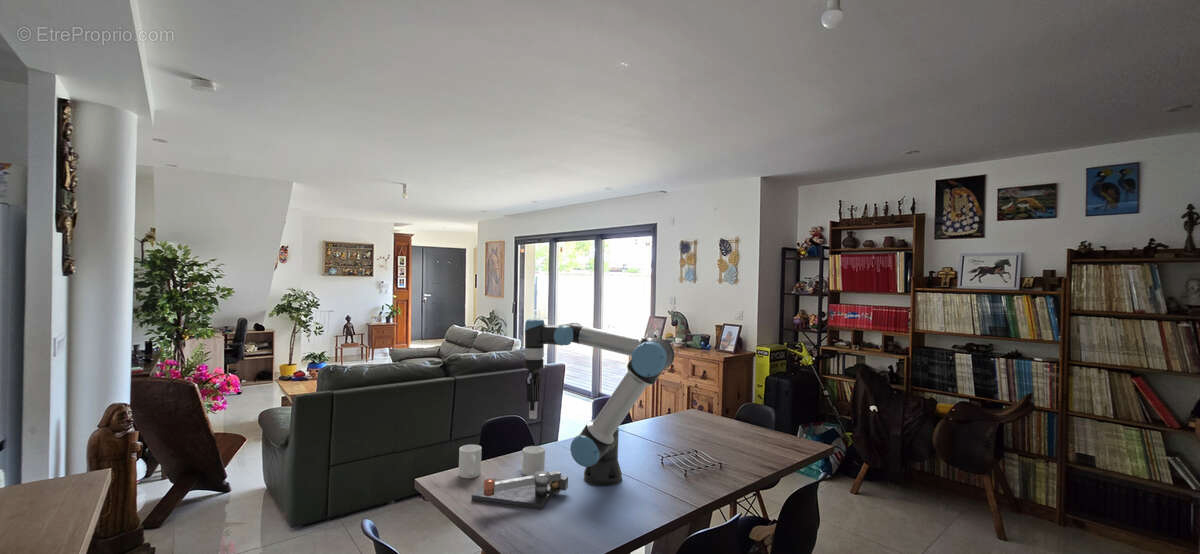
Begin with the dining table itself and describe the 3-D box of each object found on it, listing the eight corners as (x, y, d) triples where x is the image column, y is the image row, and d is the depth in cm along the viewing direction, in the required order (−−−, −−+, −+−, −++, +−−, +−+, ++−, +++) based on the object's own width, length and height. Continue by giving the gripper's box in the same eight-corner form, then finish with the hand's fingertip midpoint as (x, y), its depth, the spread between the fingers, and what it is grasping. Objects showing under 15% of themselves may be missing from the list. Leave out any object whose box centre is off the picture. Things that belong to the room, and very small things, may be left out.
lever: (555, 478, 182) (556, 466, 182) (562, 483, 176) (562, 471, 176) (481, 491, 168) (481, 478, 168) (486, 498, 163) (486, 484, 163)
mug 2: (548, 473, 200) (549, 450, 200) (529, 478, 194) (530, 454, 195) (532, 464, 209) (533, 442, 210) (514, 469, 204) (514, 446, 204)
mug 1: (462, 483, 188) (463, 455, 188) (456, 472, 198) (457, 446, 199) (485, 480, 192) (486, 452, 192) (477, 469, 202) (478, 443, 203)
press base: (567, 492, 182) (567, 476, 182) (553, 511, 166) (554, 493, 166) (491, 483, 189) (492, 467, 189) (471, 500, 173) (472, 483, 173)
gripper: (530, 355, 201) (529, 413, 201) (519, 360, 189) (518, 421, 188) (548, 356, 200) (547, 414, 199) (537, 361, 187) (536, 423, 187)
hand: (533, 418), depth 194 cm, fingers closed
